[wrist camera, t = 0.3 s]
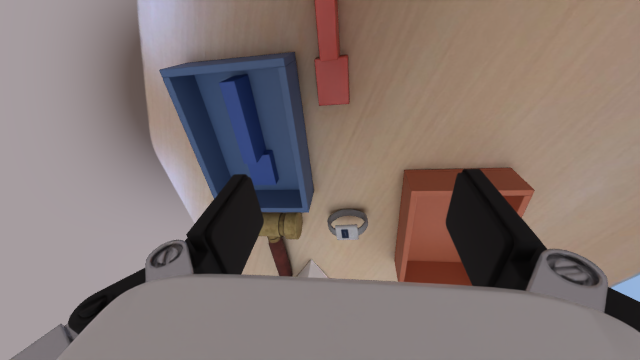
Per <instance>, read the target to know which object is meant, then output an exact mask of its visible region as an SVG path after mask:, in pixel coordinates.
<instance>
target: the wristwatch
mask: <svg viewBox="0 0 640 360" xmlns="http://www.w3.org/2000/svg"><path fill="white" fill-rule="evenodd" d="M342 216H356V217H359V218H362V219H363V220H364V221H365V222H364V223H363V225H362V226H361V227H359V228H358V227H357V224H355V225H335V228H333V227H332V226H331V223H332V222H333V221H334V220H335V219H337V218H339V217H342ZM367 226H368V219H367V216H366V214H364V213H363V212H361V211H358V210H353V209H344V210H340V211H337V212H335V213H333V214H332V215H330V216H329V218H328V227H329V230H330V231H331V232H332V234H334V235H335V236H337V240H356V239H359V238H358V235H360V234H362V233H363V232H364V231H365V230H366V228H367Z"/></svg>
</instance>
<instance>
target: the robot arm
mask: <svg viewBox="0 0 640 360" xmlns="http://www.w3.org/2000/svg"><path fill="white" fill-rule="evenodd" d="M263 224H264V218H263V215H262V211H261V208H260V205H259V202H258V198H257V195H256V192H255V189H254V185H253V182H252V179H251V178H250V177H248V176H247V175H246V174H235V175H233V176H232V177H231V178H230V180H229V181H228V182H227V184H226V185H225V186H224V187H223V189H222V190H221V191H220V192H219V194H218V195H217V196H216V198H215V199H214V200H213V201H212V203H211V204H210V205H209V206H208V208H207V209H206V210H205V212H204V213H203V214H202V215H201V217H200V218H199V219H198V220H197V222H196V223H195V224H194V226H193V227H192V228H191V229H190V231H189V232H188V233H187V234H186V235H187V237H188V238H187V239H186V240H185V242H184V241H183V240H173V241H169V242H167V243H164V244H162V245H160V246H159V247H158V248H156V249H155V250H154V251H153V252H152V253H151V254H150V255H149V256H148V258H147V259H146V264H145V268H144V269H142V270H140V271H138V272H136V273H134V274H132V275H130V276H128V277H126V278H124V279H122V280H120V281H118V282H116V283H115V284H112V285H110V286H109V287H107V288H105V289H103V290H101V291H99V292H97V293H95V294H93V295H92V296H90V297H88V298H87V299H86V300H84V301H83V302H82V303H81V304H80V305H79V306H78V307H77V308H76V309H75V310H74V312H73V313H72V314H71V316H70V318H69V321H68V324H67V325H65V326H64V325H62V324H60V325H58V326H57V327H56V328H54V329H53V330H51V331H50V332H48V333H47V334H45V335H44V336H43V337H41V338H40V339H38V340H37V341H35V342H34V343H33V344H31V345H30V346H28V347H27V348H26V349H24V350H23V351H21V352H20V353H19V354H17V355H16V356H14V357H13V358H11V359H10V360H640V302H638V301H636V300H634V299H632V298H630V297H628V296H626V295H624V294H622V293H620V292H618V291H615V290H613V289H611V288H609V287H608V281H607V277H606V275H605V274H604V273H603V271H602V270H601V269H600V268H599V267H598V266H597V265H595V264H594V263H593V262H591V261H589V260H588V259H586V258H584V257H582V256H580V255H578V254H576V253H573V252H570V251H567V250H561V249H547V248H546V247H545V246H544V245H543V243H542V242H541V241H540V239H539V238H538V237H537V236H536V235H535V234H534V232H533V231H532V230H531V229H530V228H529V226H528V225H527V224H526V223H525V222H524V221H523V219H522V218H521V217H520V216H519V215H518V213H517V212H516V211H515V210H514V209H513V207H512V206H511V205H510V204H509V203H508V202H507V200H506V199H505V198H504V197H503V196H502V194H501V193H500V192H499V191H498V190H497V189H496V187H495V186H494V185H493V184H492V183H491V181H490V180H489V179H488V178H487V177H486V176H485V174H484V173H483V172H482V171H481V170H480V169H463V170H462V172H461V173H458V174H457V176H456V180H455V184H454V188H453V192H452V196H451V200H450V204H449V208H448V212H447V216H446V227H447V230H448V232H449V234H450V237H451V239H452V241H453V243H454V246H455V248H456V250H457V252H458V255H459V257H460V259H461V261H462V264H463V266H464V268H465V270H466V273H467V275H468V277H469V279H470V282H471V284H472V286H466V285H452V284H434V283H415V282H396V281H376V280H355V279H334V278H312V277H289V276H265V275H241V274H242V271H243V269H244V267H245V265H246V262H247V260H248V258H249V256H250V253H251V251H252V249H253V247H254V244H255V242H256V240H257V238H258V236H259V233H260V231H261V229H262V227H263Z"/></svg>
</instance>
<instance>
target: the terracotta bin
mask: <svg viewBox="0 0 640 360" xmlns="http://www.w3.org/2000/svg"><path fill="white" fill-rule="evenodd" d="M479 169H480V170H481V171H482V172H483V173H484V174H485V176H486V177H487V178H488V179H489V180H490V181H491V183H492V184H493V185H494V186H495V187H496V189H497V190H498V191H499V192H500V193H501V194H502V196H503V197H504V198H505V199H506V200H507V202H508V203H509V204H510V205H511V206H512V207H513V209H514V210H515V211H516V212H517V213H518V215H519V216H520V217H521V218H522V216H523V214H524V212H525V210H526V208H527V206H528V203H529V201H530V199H531V197H532V195H533V193H534V191H535V190H534V189H533V188H532V187H531V186H530V185H529V184H528V183H527V182H525V181H524V180H523V179H522V178H521V177H520V176H519V175H518V174H517V173H516V172H515V171H514V170H513V169H512V168H479ZM462 170H463V169H432V170H404V178H403V187H402V196H401V205H400V214H399V224H398V233H397V242H396V251H395V260H394V261H395V267H396V273H397V279H398V282H415V283H434V284H452V285H466V286H472V284H471V282H470V279H469V277H468V275H467V273H466V270H465V268H464V266H463V264H462V261H461V259H460V257H459V255H458V252H457V250H456V248H455V246H454V243H453V241H452V239H451V237H450V234H449V232H448V230H447V227H446V216H447V212H448V208H449V204H450V200H451V196H452V192H453V188H454V184H455V180H456V176H457V174H458V173H461V172H462Z"/></svg>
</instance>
